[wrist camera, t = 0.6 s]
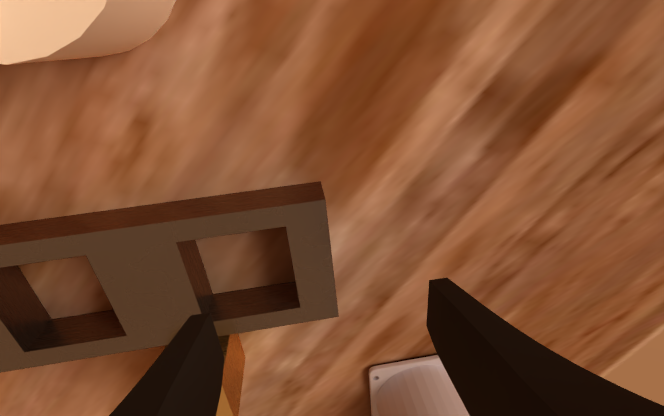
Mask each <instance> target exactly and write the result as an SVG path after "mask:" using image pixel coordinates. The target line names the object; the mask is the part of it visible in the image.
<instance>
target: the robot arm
mask: <svg viewBox="0 0 664 416" xmlns="http://www.w3.org/2000/svg"><path fill="white" fill-rule="evenodd" d="M427 328H428V331H429V334H430V336H431V339H432V342H433V344H434V347H435V349H436V352H437V354H438V355H434V356H428V357H423V358H417V359H411V360H406V361H400V362H394V363H389V364H383V365H377V366H373V367H371V368H370V369H369V386H370V401H371V416H664V406H662V405H660V404H658V403H655V402H653V401H651V400H648V399H646V398H644V397H641V396H639V395H637V394H635V393H633V392H631V391H628V390H626V389H624V388H622V387H620V386H618V385H616V384H614V383H612V382H610V381H608V380H605V379H604V378H602V377H600V376H598V375H596V374H594V373H592V372H590V371H588V370H586V369H584V368H582V367H580V366H578V365H576V364H574V363H573V362H571V361H569V360H567V359H566V358H564V357H562V356H560V355H559V354H557V353H555V352H553V351H551V350H550V349H548V348H546V347H545V346H543V345H541V344H540V343H538V342H537V341H535V340H533V339H532V338H530V337H529V336H527V335H526V334H524V333H523V332H521V331H519V330H518V329H516V328H515V327H513V326H512V325H511V324H509V323H508V322H506V321H505V320H503V319H502V318H500V317H499V316H498V315H496V314H495V313H493V312H492V311H491V310H489V309H488V308H487V307H485V306H484V305H482V304H481V303H480V302H478V301H477V300H476V299H474V298H473V297H472V296H470V295H469V294H468V293H467V292H465V291H464V290H463V289H461V288H460V287H459V286H457V285H456V284H455V283H453V282H452V281H451V280H449V279H448V278H442V279H435V280H429V294H428V310H427ZM223 369H224V354H223V351H222V348H221V345H220V342H219V339H218V335H217V332H216V329H215V326H214V323H213V320H212V317H211V313H203V314H197V315H191V316H190V317H189V318H188V319H187V321H186V322H185V323H184V324H183V326H182V327H181V328H180V330H179V331H178V332H177V334H176V335H175V336H174V338H173V339H172V340H171V342H170V343H169V344H168V346H167V347H166V348H165V349H164V351H163V352H162V353H161V355H160V356H159V357H158V358H157V360H156V361H155V362H154V363H153V365H152V366H151V367H150V368H149V370H148V371H147V372H146V374H145V375H144V376H143V377H142V378H141V380H140V381H139V382H138V383H137V384H136V386H135V387H134V388H133V389H132V390H131V391H130V393H129V394H128V395H127V396H126V397H125V398H124V400H123V401H122V402H121V403H120V404H119V405H118V406H117V408H116V409H115V410H114V411H113V412H112V413H111V414H110V415H109V416H216V413H217V408H218V404H219V399H220V394H221V388H222V379H223Z"/></svg>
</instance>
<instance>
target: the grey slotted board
mask: <svg viewBox="0 0 664 416" xmlns="http://www.w3.org/2000/svg"><path fill="white" fill-rule="evenodd" d="M285 226H286V230H287V236H288V241H289V247H290V252H291V258H292V263H293V269H294V275H295V280H296V282H290V283H283V284H277V285H271V286H264V287H258V288H251V289H245V290H239V291H232V292H226V293H219V294H213V293H212V290H211V287H210V284H209V281H208V278H207V275H206V272H205V269H204V266H203V263H202V260H201V257H200V254H199V250H198V247H197V244H196V241H195V239H202V238H209V237H216V236H223V235H230V234H237V233H244V232H251V231H258V230H264V229H271V228H278V227H285ZM84 255H86V257H87V259H88V260H89V262H90V264H91V266H92V268H93V270H94V272H95V274H96V276H97V278H98V280H99V282H100V284H101V286H102V288H103V290H104V292H105V294H106V296H107V298H108V300H109V301H110V303H111V305H112V307H113V309H114V310H111V311H104V312H98V313H91V314H85V315H79V316H72V317H66V318H60V319H53V320H51V318H50V317H49V315H48V313H47V312H46V310H45V309H44V307H43V306H42V304H41V302H40V301H39V299H38V298H37V296H36V295H35V293H34V291H33V290H32V288H31V287H30V285H29V283H28V282H27V280H26V279H25V277H24V276H23V274H22V272H21V271H20V269H19V268H18V266H17V265H22V264H29V263H36V262H43V261H50V260H57V259H64V258H70V257H77V256H84ZM203 313H211V317H212V320H213V323H214V326H215V329H216V332H217V335H218V336H224V335H230V334H236V333H242V332H249V331H255V330H261V329H267V328H273V327H279V326H285V325H291V324H297V323H303V322H309V321H315V320H321V319H327V318H333V317H339V315H338V307H337V298H336V289H335V280H334V271H333V263H332V254H331V245H330V236H329V228H328V219H327V210H326V201H325V197H324V193H323V189H322V185H321V182H314V183H307V184H299V185H292V186H285V187H277V188H270V189H263V190H255V191H248V192H240V193H233V194H226V195H218V196H211V197H204V198H196V199H189V200H182V201H174V202H167V203H160V204H152V205H145V206H137V207H130V208H123V209H115V210H108V211H101V212H93V213H86V214H79V215H71V216H64V217H56V218H49V219H42V220H34V221H27V222H20V223H12V224H5V225H0V372H6V371H12V370H19V369H25V368H31V367H37V366H43V365H49V364H55V363H61V362H67V361H73V360H79V359H85V358H91V357H97V356H103V355H109V354H115V353H121V352H127V351H134V350H140V349H146V348H152V347H158V346H164V345H168V344H169V343H170V342H171V340H172V339H173V338H174V336H175V335H176V334H177V332H178V331H179V330H180V328H181V327H182V326H183V324H184V323H185V322H186V321H187V319H188V318H189V317H190V316H191V315H197V314H203Z"/></svg>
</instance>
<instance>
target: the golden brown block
mask: <svg viewBox="0 0 664 416" xmlns="http://www.w3.org/2000/svg"><path fill="white" fill-rule="evenodd" d="M218 339H219V342H220V345H221V348H222V351H223V354H224V369H223V379H222V388H221V394H220V399H219V404H218V408H217V413H216V416H238V414H239V406H240V397H241V389H242V381H243V373H244V365H245V355H244V351H243V348H242V345H241V341H240V338H239V335H238V333H236V334H230V335H224V336H218ZM167 346H168V345H166V346H165V348H166V347H167Z"/></svg>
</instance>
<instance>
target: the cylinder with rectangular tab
mask: <svg viewBox="0 0 664 416" xmlns="http://www.w3.org/2000/svg"><path fill="white" fill-rule="evenodd" d="M175 1H176V0H0V64H6V65H9V64H21V63H32V62H44V61H56V60H67V59H79V58H91V57H102V56H108V55H113V54H117V53H122V52H127V51H130V50H132V49H133V48H135V47H137V46H139V45H140V44H142V43H144V42H146V41H147V40H149V39H151V38H152V37H153V35H154V34H155V33H156V32H157V31H158V30H159V29H160V28H161V26H162V25H163V24H164V23H165V22H166V21H167V20H168V17H169V15H170V13H171V11H172V8H173V6H174V4H175Z"/></svg>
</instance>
